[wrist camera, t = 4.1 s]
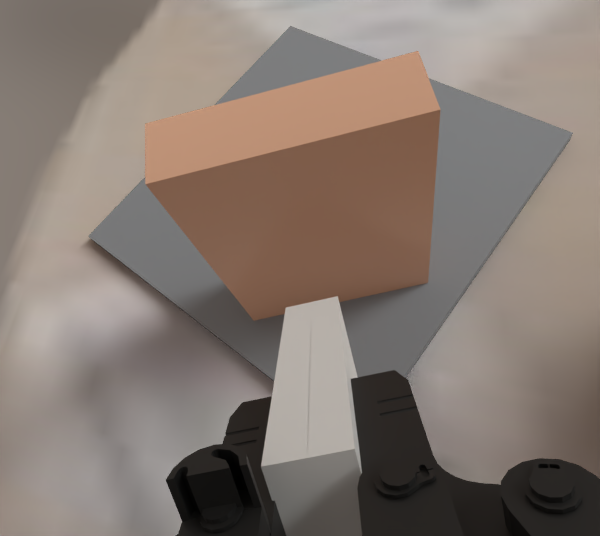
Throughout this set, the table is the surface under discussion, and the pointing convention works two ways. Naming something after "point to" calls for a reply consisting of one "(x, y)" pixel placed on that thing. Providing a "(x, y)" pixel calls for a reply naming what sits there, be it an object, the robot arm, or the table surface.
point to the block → (307, 185)
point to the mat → (445, 227)
